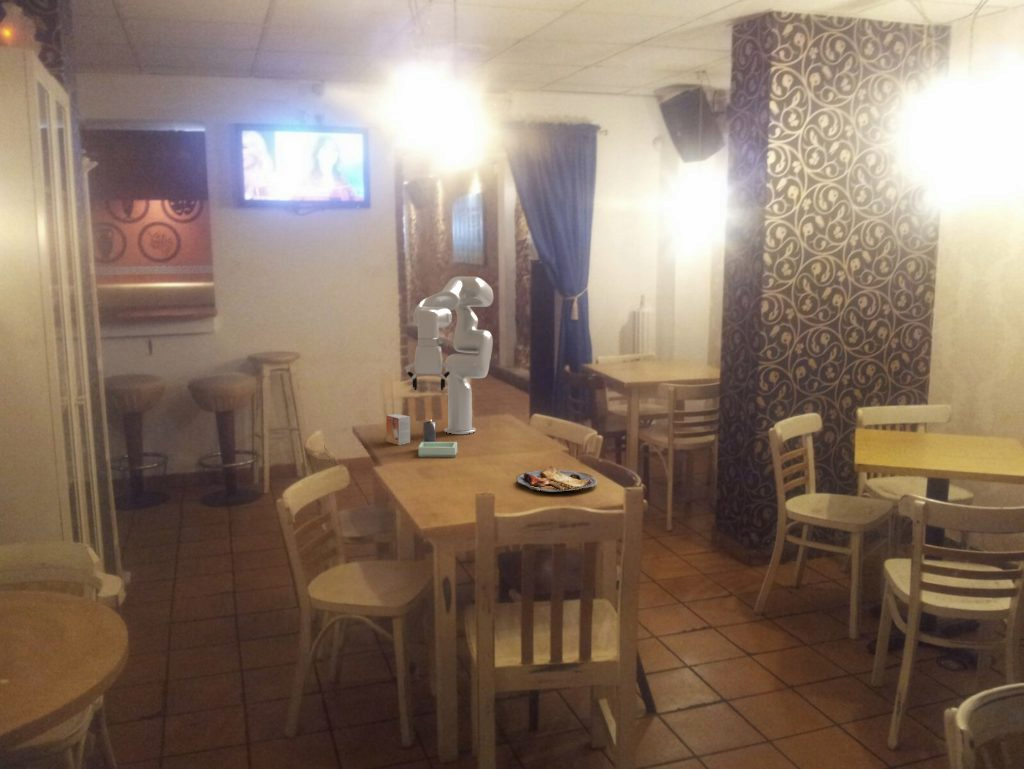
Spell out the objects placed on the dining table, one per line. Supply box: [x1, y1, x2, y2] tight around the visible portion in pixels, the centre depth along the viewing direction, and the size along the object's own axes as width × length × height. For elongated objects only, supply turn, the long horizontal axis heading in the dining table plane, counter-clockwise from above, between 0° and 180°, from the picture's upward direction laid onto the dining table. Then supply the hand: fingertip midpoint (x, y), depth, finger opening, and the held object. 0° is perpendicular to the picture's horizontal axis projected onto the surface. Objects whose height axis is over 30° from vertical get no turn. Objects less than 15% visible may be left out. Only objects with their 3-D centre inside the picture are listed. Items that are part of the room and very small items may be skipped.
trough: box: [418, 441, 458, 458], centre depth 317 cm, size 9×13×4 cm
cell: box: [422, 418, 437, 442], centre depth 325 cm, size 4×4×11 cm
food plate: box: [515, 466, 598, 493], centre depth 276 cm, size 25×23×4 cm
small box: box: [385, 413, 411, 446], centre depth 335 cm, size 8×6×10 cm
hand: (429, 389), depth 323 cm, fingers open, 9 cm apart
